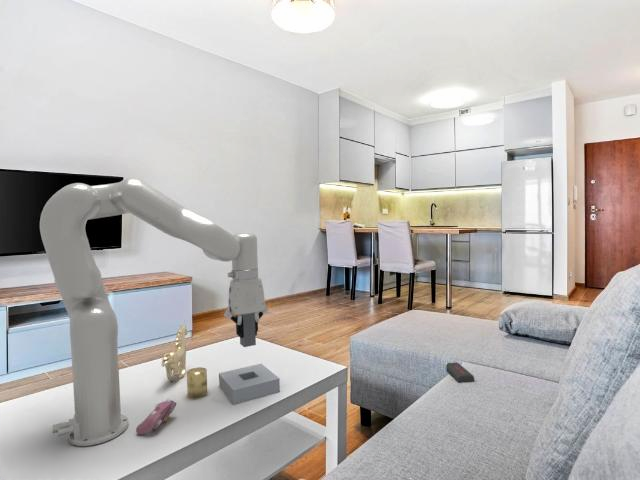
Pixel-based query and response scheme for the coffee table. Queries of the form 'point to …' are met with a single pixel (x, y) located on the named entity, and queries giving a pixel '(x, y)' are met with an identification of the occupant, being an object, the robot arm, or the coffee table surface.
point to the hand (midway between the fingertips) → (247, 335)
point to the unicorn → (176, 355)
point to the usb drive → (458, 372)
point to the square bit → (248, 330)
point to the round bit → (197, 383)
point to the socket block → (248, 383)
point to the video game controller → (156, 417)
